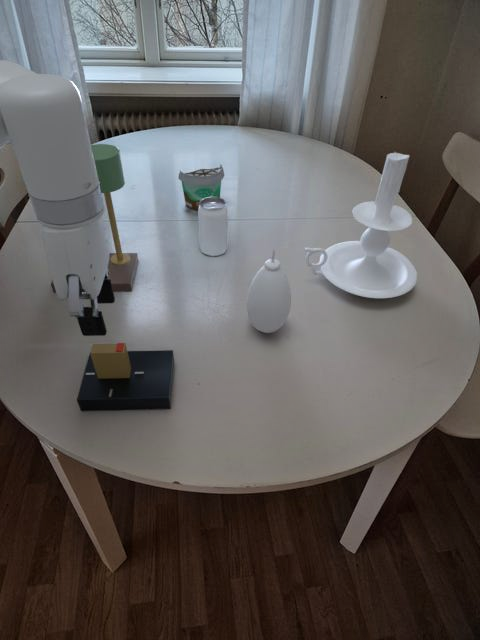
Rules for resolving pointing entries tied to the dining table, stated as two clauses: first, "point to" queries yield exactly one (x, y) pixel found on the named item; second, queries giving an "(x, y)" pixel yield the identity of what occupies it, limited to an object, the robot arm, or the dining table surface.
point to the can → (212, 226)
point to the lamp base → (120, 274)
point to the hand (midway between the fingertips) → (99, 316)
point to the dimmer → (130, 384)
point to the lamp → (110, 189)
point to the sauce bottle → (269, 297)
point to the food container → (201, 185)
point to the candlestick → (372, 244)
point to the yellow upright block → (111, 360)
